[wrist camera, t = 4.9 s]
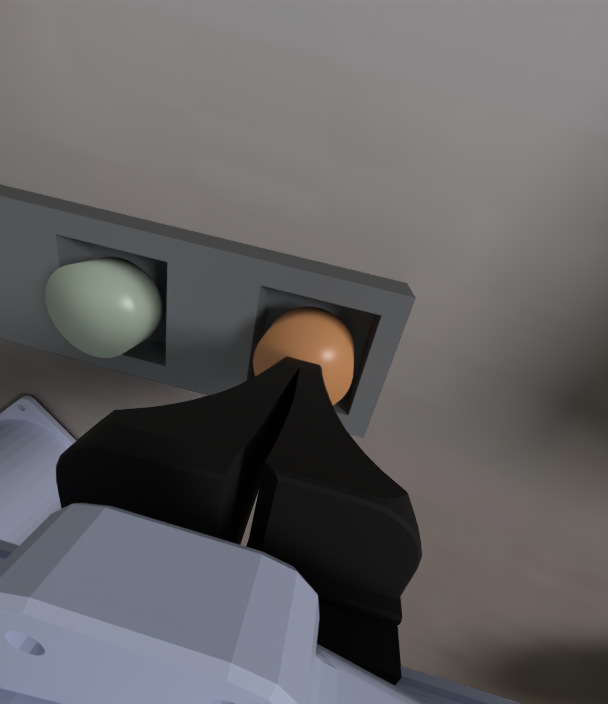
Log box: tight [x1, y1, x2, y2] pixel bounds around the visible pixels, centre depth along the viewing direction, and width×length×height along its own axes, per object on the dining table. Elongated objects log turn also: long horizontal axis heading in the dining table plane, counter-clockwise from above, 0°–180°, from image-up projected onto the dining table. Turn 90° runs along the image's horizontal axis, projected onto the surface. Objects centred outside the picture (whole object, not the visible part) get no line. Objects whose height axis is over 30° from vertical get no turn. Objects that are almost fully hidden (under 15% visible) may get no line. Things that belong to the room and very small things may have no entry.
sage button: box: [45, 257, 163, 358], centre depth 14 cm, size 4×4×2 cm
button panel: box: [0, 185, 415, 438], centre depth 16 cm, size 25×7×2 cm, turn 78°
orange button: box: [253, 306, 354, 405], centre depth 14 cm, size 4×4×2 cm
